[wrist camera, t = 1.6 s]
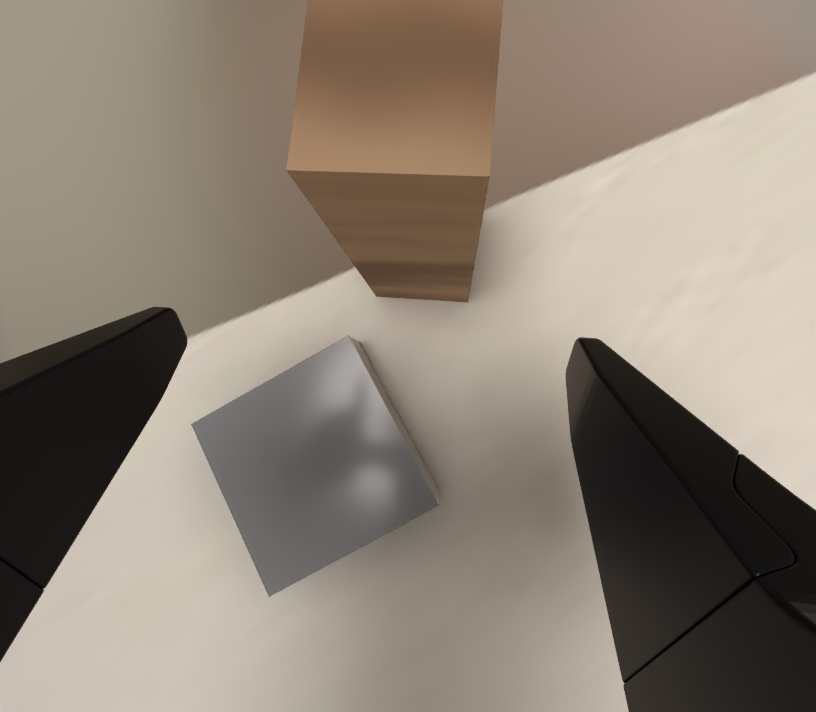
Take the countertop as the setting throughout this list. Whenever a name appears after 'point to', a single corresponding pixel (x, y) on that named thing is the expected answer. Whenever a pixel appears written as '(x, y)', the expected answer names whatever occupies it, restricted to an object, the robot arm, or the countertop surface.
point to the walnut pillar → (399, 136)
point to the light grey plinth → (315, 464)
